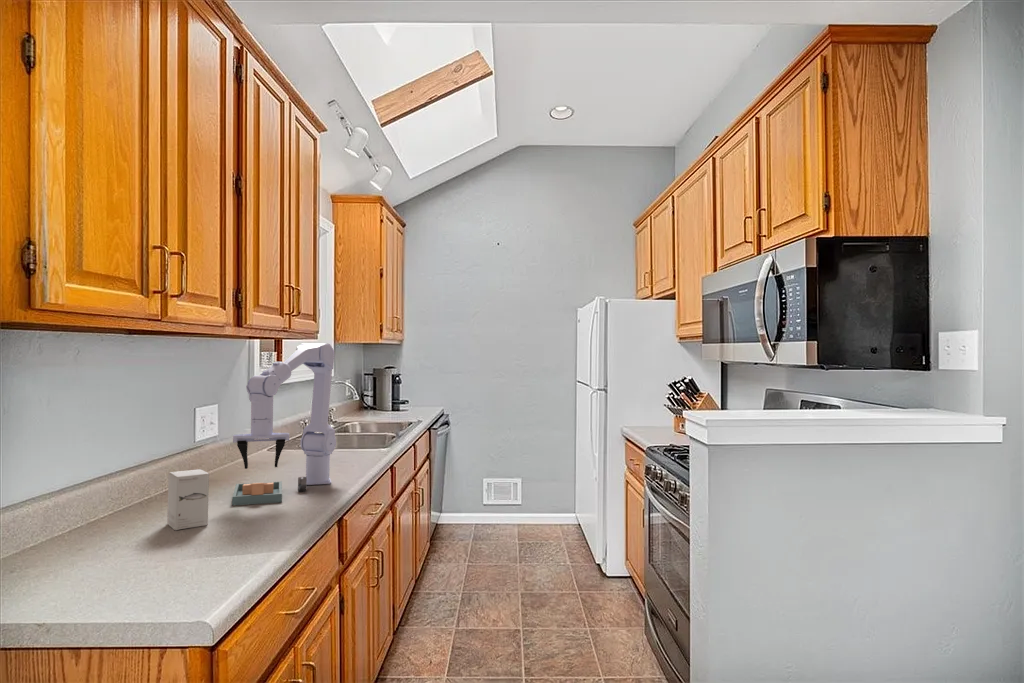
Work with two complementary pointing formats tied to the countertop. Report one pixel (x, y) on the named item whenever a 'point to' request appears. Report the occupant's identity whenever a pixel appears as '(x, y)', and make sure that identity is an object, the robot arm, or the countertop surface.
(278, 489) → the tray
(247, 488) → the collar
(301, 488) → the grey metal cylinder
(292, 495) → the countertop surface
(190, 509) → the supplement box
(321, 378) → the robot arm
